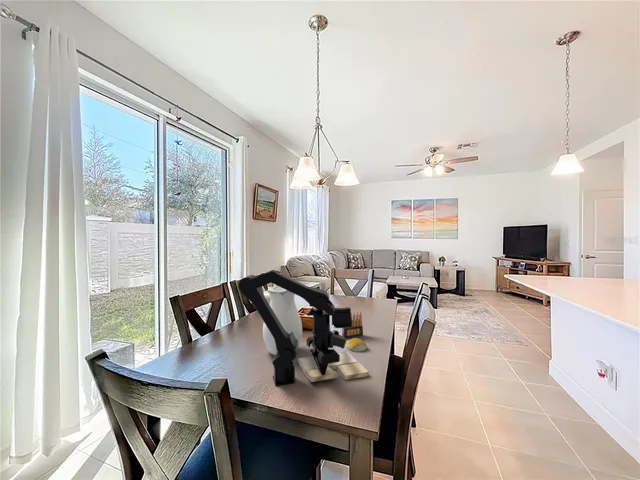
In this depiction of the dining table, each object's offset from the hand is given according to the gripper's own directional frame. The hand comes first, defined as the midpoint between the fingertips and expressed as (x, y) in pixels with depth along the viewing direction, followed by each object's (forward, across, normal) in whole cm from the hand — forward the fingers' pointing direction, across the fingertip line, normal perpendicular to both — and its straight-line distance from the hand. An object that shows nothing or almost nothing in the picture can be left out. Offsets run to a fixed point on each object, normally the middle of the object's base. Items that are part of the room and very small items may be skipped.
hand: (322, 373), depth 97 cm
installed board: (+2, +12, -6) cm, 14 cm away
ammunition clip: (+2, +36, -28) cm, 45 cm away
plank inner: (+2, +2, 0) cm, 3 cm away
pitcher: (+2, +33, +6) cm, 34 cm away
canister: (+1, +71, +4) cm, 71 cm away
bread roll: (+2, +23, -24) cm, 33 cm away
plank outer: (+2, +2, -12) cm, 13 cm away
